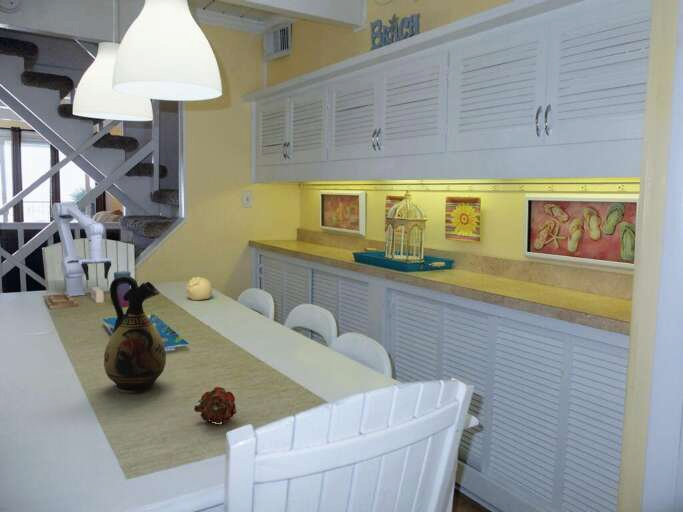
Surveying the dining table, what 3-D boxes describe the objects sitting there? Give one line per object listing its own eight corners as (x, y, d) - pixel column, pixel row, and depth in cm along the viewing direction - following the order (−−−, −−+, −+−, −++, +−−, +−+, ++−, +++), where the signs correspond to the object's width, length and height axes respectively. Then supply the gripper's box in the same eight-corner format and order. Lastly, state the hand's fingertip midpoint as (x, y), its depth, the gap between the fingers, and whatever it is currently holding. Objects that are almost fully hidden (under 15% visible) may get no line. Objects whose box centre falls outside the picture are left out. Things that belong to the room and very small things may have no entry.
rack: (45, 300, 245) (44, 295, 245) (72, 298, 252) (71, 293, 251) (50, 308, 231) (49, 303, 230) (78, 306, 237) (78, 300, 236)
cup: (114, 305, 241) (113, 271, 239) (130, 304, 244) (130, 270, 242) (115, 308, 235) (114, 273, 233) (132, 307, 237) (131, 273, 236)
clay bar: (91, 298, 255) (91, 287, 254) (98, 297, 256) (97, 287, 256) (96, 302, 245) (96, 291, 244) (103, 302, 247) (103, 291, 246)
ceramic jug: (173, 377, 153) (171, 272, 149) (156, 398, 138) (154, 282, 134) (112, 376, 153) (108, 271, 149) (88, 398, 137) (84, 280, 134)
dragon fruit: (223, 439, 120) (206, 426, 130) (251, 411, 124) (233, 400, 134) (199, 413, 117) (184, 402, 128) (228, 384, 121) (211, 375, 131)
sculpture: (185, 297, 261) (185, 275, 260) (211, 296, 265) (211, 274, 263) (186, 302, 250) (186, 279, 249) (213, 301, 254) (213, 278, 252)
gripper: (79, 251, 240) (80, 281, 242) (114, 249, 248) (115, 279, 250) (77, 249, 246) (78, 279, 248) (111, 248, 254) (112, 277, 256)
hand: (96, 279), depth 249 cm, fingers open, 7 cm apart
